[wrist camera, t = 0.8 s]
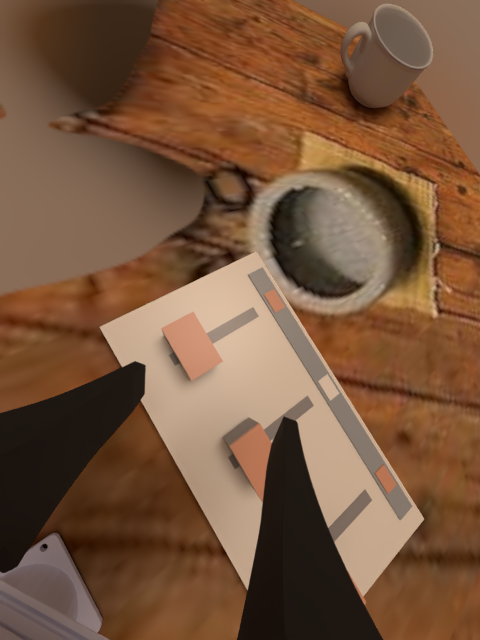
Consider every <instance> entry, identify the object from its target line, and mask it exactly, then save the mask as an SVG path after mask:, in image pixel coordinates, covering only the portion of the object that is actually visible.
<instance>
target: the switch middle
mask: <svg viewBox="0 0 480 640" xmlns="http://www.w3.org/2000/svg"><path fill="white" fill-rule="evenodd" d="M223 438H224V440H225V442H226V443H227V445H228V447H229V449H230V450H231V452H232V454H233V455H234V457H235V459H236V461H237V462H238V464H239V466H240V468H241V469H242V471H243V473H244V474H245V476H246V478H247V480H248V481H249V483H250V485H251V486H252V488H253V489H254V491H255V492H256V494H257V495H258V497H259V498H260V500H261V501H262V503H263V495H264V486H265V477H266V469H267V463H268V458H269V453H270V449H271V444H272V443H271V441H270V439H269V438H268V436H267V434H266V433H265V431H264V429H263V428H262V426H261V424H260V423H258V422H256V421H255V420H253V419H251V418H247V419H246V420H245V421H243V422H242V423H241V424H239V425H238V426H237V427H235V428H234V429H232V430H231V431H230V432H228V433H227V434H226V435H224V436H223Z"/></svg>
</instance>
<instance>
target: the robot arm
mask: <svg viewBox="0 0 480 640" xmlns="http://www.w3.org/2000/svg"><path fill="white" fill-rule="evenodd" d="M145 373H146V365H144V364H142V363H139V362H136V361H134V362H132V363H130V364H128V365H126V366H124V367H121V368H119V369H117V370H115V371H113V372H111V373H109V374H107V375H105V376H102V377H100V378H98V379H96V380H94V381H92V382H89V383H87V384H85V385H82V386H80V387H77V388H75V389H73V390H70V391H68V392H65V393H63V394H60V395H57V396H55V397H52V398H49V399H46V400H43V401H40V402H37V403H34V404H31V405H27V406H24V407H20V408H17V409H14V410H10V411H7V412H3V413H0V640H109V639H107V638H106V637H104V636H102V635H100V634H98V633H97V632H98V631H99V630H100V628H101V625H102V617H101V615H100V613H99V611H98V609H97V607H96V605H95V603H94V601H93V599H92V597H91V595H90V593H89V591H88V589H87V587H86V585H85V584H84V582H83V580H82V578H81V576H80V574H79V572H78V570H77V568H76V566H75V564H74V562H73V560H72V558H71V556H70V554H69V552H68V550H67V549H66V547H65V545H64V543H63V541H62V539H61V537H60V535H59V534H58V533H51V534H50V535H48V536H47V537H45V538H44V539H43V540H41V541H40V542H38V543H37V544H35V545H34V546H33V547H31V548H30V549H29V547H30V546H31V544H32V543H33V541H34V540H35V538H36V537H37V535H38V534H39V532H40V530H41V529H42V527H43V526H44V524H45V523H46V521H47V520H48V519H49V517H50V516H51V514H52V513H53V511H54V510H55V508H56V507H57V505H58V504H59V502H60V501H61V500H62V498H63V497H64V495H65V494H66V493H67V491H68V490H69V488H70V487H71V486H72V484H73V483H74V481H75V480H76V479H77V477H78V476H79V475H80V473H81V472H82V471H83V469H84V468H85V467H86V465H87V464H88V462H89V461H90V460H91V459H92V457H93V456H94V455H95V454H96V453H97V451H98V450H99V449H100V448H101V447H102V446H103V444H104V443H105V442H106V441H107V440H108V439H109V438H110V437H111V435H112V434H113V433H114V432H115V431H116V430H117V429H118V428H119V427H120V425H121V424H122V423H123V422H124V421H125V420H126V419H127V417H128V416H129V415H130V414H131V413H132V412H133V410H134V409H135V407H136V406H137V405H138V403H139V402H140V400H141V399H142V397H143V396H144V394H145ZM43 544H47V545H48V548H43ZM237 640H383V639H382V637H381V635H380V633H379V631H378V630H377V628H376V626H375V624H374V622H373V620H372V618H371V617H370V615H369V613H368V611H367V609H366V607H365V605H364V603H363V601H362V599H361V597H360V595H359V593H358V591H357V589H356V587H355V586H354V584H353V582H352V579H351V577H350V575H349V573H348V571H347V569H346V567H345V564H344V562H343V560H342V558H341V556H340V554H339V552H338V549H337V547H336V545H335V543H334V540H333V538H332V536H331V533H330V531H329V528H328V526H327V524H326V521H325V518H324V516H323V513H322V511H321V508H320V505H319V502H318V500H317V497H316V494H315V491H314V488H313V484H312V481H311V478H310V475H309V471H308V467H307V464H306V460H305V456H304V452H303V448H302V444H301V439H300V434H299V428H298V423H297V421H295V420H292V419H290V418H287V417H283V419H282V421H281V423H280V426H279V428H278V430H277V432H276V435H275V437H274V439H273V442H272V444H271V449H270V453H269V458H268V463H267V469H266V477H265V486H264V495H263V504H262V513H261V522H260V529H259V535H258V540H257V545H256V551H255V556H254V561H253V566H252V571H251V576H250V581H249V586H248V591H247V596H246V600H245V605H244V610H243V615H242V619H241V624H240V629H239V633H238V638H237Z"/></svg>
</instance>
